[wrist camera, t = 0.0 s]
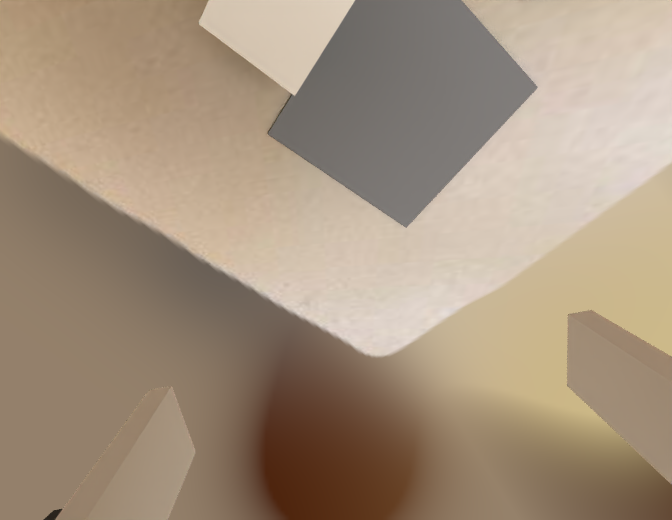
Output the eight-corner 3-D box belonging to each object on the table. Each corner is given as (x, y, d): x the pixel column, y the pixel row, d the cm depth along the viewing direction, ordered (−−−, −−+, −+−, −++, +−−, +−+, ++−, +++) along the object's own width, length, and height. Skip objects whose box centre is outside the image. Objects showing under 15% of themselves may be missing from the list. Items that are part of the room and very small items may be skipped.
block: (270, -63, 26) (256, -104, 16) (335, -1, 29) (358, -5, 19) (230, 17, 29) (198, 23, 19) (294, 67, 31) (294, 96, 21)
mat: (395, -72, 26) (397, -73, 26) (534, 86, 34) (537, 87, 33) (267, 132, 34) (267, 134, 33) (405, 225, 41) (406, 227, 41)
